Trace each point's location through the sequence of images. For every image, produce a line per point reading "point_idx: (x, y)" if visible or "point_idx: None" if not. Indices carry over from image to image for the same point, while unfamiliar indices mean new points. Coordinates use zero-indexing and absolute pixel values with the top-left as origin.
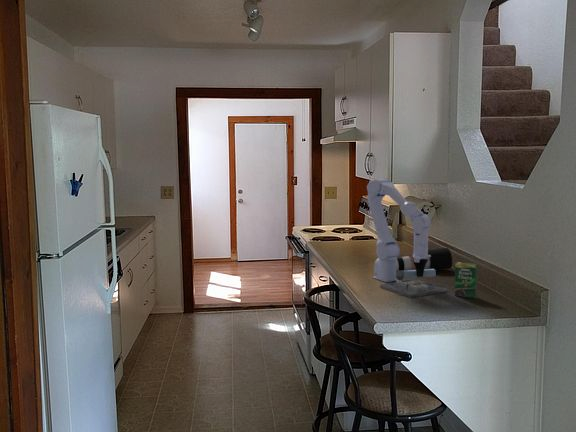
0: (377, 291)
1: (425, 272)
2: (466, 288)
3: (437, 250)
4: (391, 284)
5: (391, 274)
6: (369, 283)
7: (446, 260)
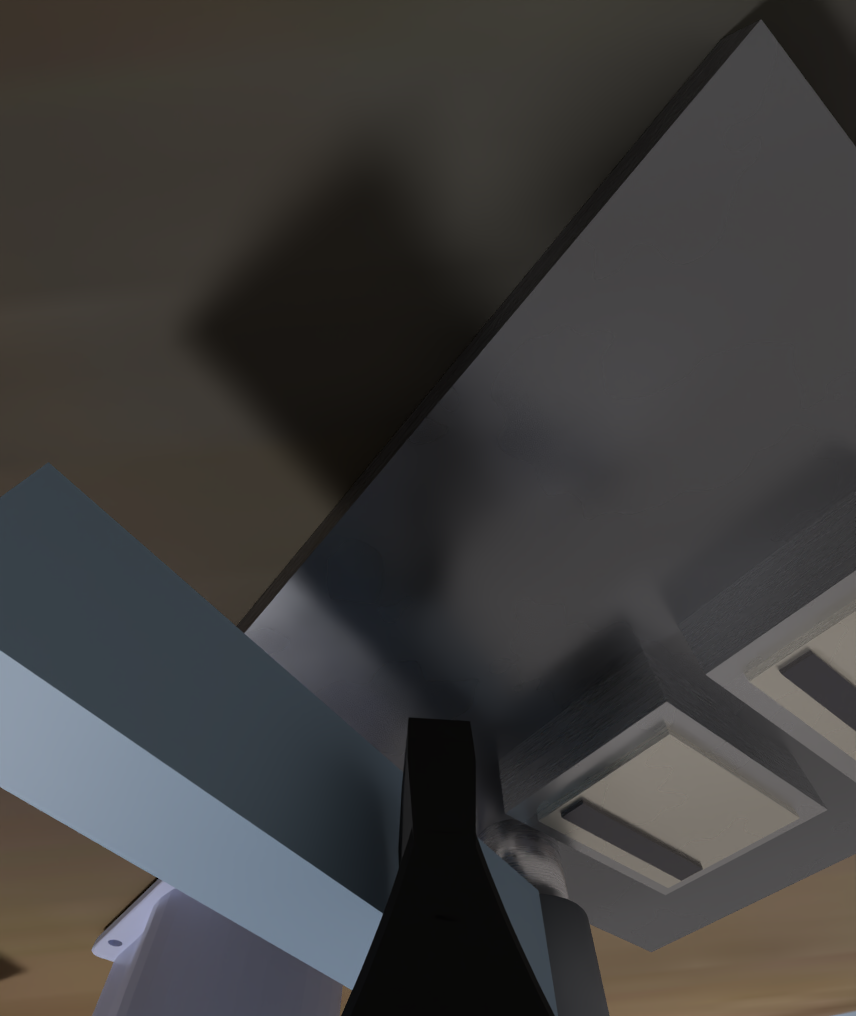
0: (818, 909)
1: (239, 747)
2: None
3: None
4: (623, 889)
5: (309, 985)
6: None
7: None
